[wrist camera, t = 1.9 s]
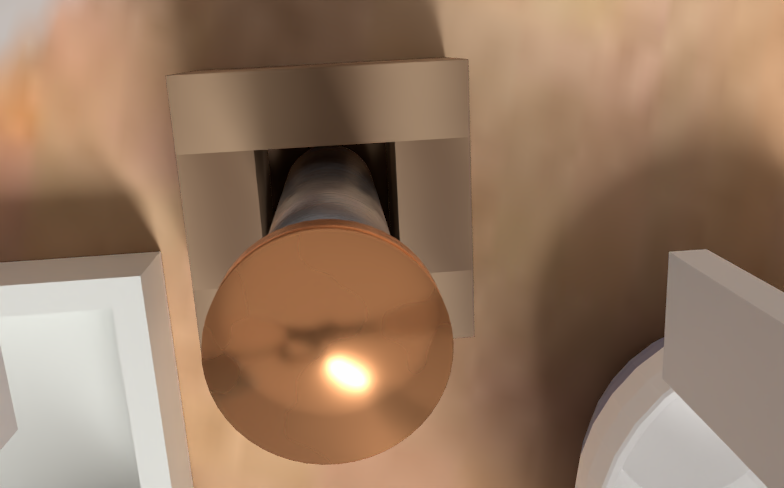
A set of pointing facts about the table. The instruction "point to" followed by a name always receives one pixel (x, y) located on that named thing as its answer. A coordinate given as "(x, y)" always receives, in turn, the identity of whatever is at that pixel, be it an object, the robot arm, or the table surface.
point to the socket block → (326, 128)
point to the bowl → (654, 437)
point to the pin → (327, 324)
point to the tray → (91, 375)
